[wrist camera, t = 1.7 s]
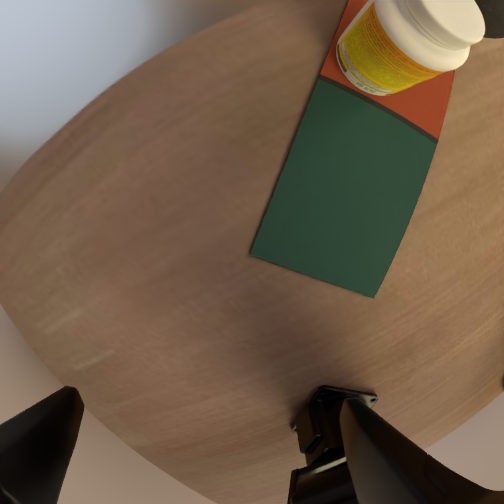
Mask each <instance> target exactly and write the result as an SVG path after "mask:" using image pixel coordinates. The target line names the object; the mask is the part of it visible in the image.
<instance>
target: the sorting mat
mask: <svg viewBox="0 0 504 504" xmlns="http://www.w3.org/2000/svg"><path fill="white" fill-rule="evenodd" d="M367 1H368V0H349V1H348V4H347V6H346V9H345V11H344V14H343V16H342V19H341V22H340V24H339V27H338V29H337V32H336V34H335V37H334V39H333V42H332V45H331V47H330V50H329V52H328V55H327V57H326V60H325V62H324V65H323V68H322V70H321V73H320V75H319V78H318V80H317V83H316V85H315V88H314V91H313V93H312V96H311V98H310V101H309V103H308V106H307V109H306V111H305V114H304V116H303V119H302V121H301V124H300V126H299V129H298V132H297V134H296V137H295V139H294V142H293V144H292V147H291V150H290V152H289V155H288V157H287V160H286V162H285V165H284V168H283V170H282V173H281V175H280V178H279V180H278V183H277V185H276V188H275V191H274V193H273V196H272V198H271V201H270V203H269V206H268V209H267V211H266V214H265V216H264V219H263V221H262V224H261V227H260V229H259V232H258V234H257V237H256V239H255V242H254V245H253V247H252V250H251V252H250V255H252V256H255V257H258V258H261V259H263V260H266V261H269V262H272V263H275V264H277V265H280V266H283V267H286V268H289V269H292V270H294V271H297V272H300V273H303V274H306V275H308V276H311V277H314V278H317V279H320V280H323V281H325V282H328V283H331V284H334V285H337V286H340V287H342V288H345V289H348V290H351V291H354V292H357V293H359V294H362V295H365V296H368V297H371V298H374V297H375V295H376V293H377V291H378V289H379V287H380V285H381V283H382V281H383V279H384V277H385V275H386V273H387V271H388V269H389V267H390V265H391V263H392V260H393V258H394V256H395V254H396V252H397V249H398V247H399V245H400V243H401V240H402V238H403V236H404V233H405V231H406V229H407V226H408V224H409V221H410V219H411V216H412V214H413V211H414V209H415V206H416V204H417V201H418V198H419V196H420V193H421V190H422V188H423V185H424V182H425V179H426V176H427V173H428V170H429V167H430V164H431V161H432V158H433V155H434V152H435V149H436V145H437V142H438V139H439V135H440V132H441V128H442V124H443V121H444V117H445V113H446V109H447V105H448V101H449V97H450V92H451V88H452V83H453V78H454V73H455V69H454V70H452V71H450V72H447V73H444V74H441V75H439V76H436V77H433V78H431V79H428V80H426V81H423V82H421V83H419V84H416V85H414V86H411V87H409V88H407V89H404V90H402V91H400V92H397V93H395V94H392V95H386V96H379V95H373V94H370V93H367V92H365V91H363V90H361V89H359V88H358V87H356V86H355V85H354V84H352V83H351V82H350V81H349V80H348V79H347V77H346V76H345V75H344V73H343V72H342V70H341V68H340V66H339V64H338V60H337V55H336V48H337V43H338V40H339V38H340V37H341V35H342V34H343V32H344V31H345V30H346V28H347V27H348V26H349V24H350V23H351V22H352V20H353V19H354V18H355V17H356V15H357V14H358V13H359V12H360V10H361V9H362V8H363V6H364V5H365V4H366V3H367Z"/></svg>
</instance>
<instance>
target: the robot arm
mask: <svg viewBox="0 0 504 504" xmlns="http://www.w3.org/2000/svg"><path fill="white" fill-rule="evenodd" d="M323 390H325V391H323ZM377 400H378V397H377V395H376V394H373V393H366V392H360V391H354V390H349V389H343V388H338V387H333V386H328V385H322V386H320V387H319V388H318V390H317V391H316V393H315V394H314V395H313V397H312V398H311V400H310V401H309V403H307V404H306V405H305V407H304V408H303V410H302V411H301V413H300V414H299V415H298V417H297V418H296V420H295V423H294V424H293V425H292V427H291V429H292V432H293V433H297V435H298V442H299V448H300V452H301V453H303V454H305V457H306V463H307V466H306V467H303V468H301V469H295V470H293V471H292V473H291V480H290V488H289V495H288V502H287V504H504V491H493V490H489V489H486V488H483V487H481V486H479V485H478V484H476V483H474V482H472V481H470V480H468V479H466V478H464V477H462V476H461V475H459V474H457V473H455V472H454V471H452V470H450V469H449V468H447V467H446V466H444V465H443V464H441V463H440V462H438V461H437V460H435V459H434V458H433V457H432V456H430V455H429V454H428V455H427V453H426V452H425V451H424V450H422V449H421V448H420V447H418V446H417V445H416V444H415V443H413V442H412V441H411V440H409V439H408V438H407V437H406V436H404V435H403V434H402V433H400V432H399V431H398V430H397V429H395V428H394V427H393V426H392V425H390V424H389V423H388V422H387V421H385V420H384V419H383V418H382V417H380V416H379V415H378V414H377V413H375V412H374V411H373V410H372V409H371V408H372V407H373V405H374V404H375V403H376V402H377ZM83 412H84V403H83V401H82V399H81V396H80V394H79V392H78V390H77V389H76V388H75V387H70V386H65V387H63V388H61V389H60V390H58V391H56V392H55V393H53V394H51V395H50V396H48V397H47V398H45V399H43V400H41V401H40V402H38V403H36V404H35V405H33V406H32V407H30V408H28V409H26V410H25V411H23V412H21V413H19V414H18V415H16V416H15V417H13V418H11V419H9V420H8V421H6V422H4V423H2V424H1V425H0V504H57V501H58V498H59V494H60V491H61V487H62V484H63V481H64V478H65V474H66V471H67V468H68V465H69V462H70V459H71V456H72V453H73V450H74V447H75V444H76V441H77V437H78V432H79V428H80V424H81V420H82V416H83Z"/></svg>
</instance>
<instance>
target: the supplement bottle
mask: <svg viewBox="0 0 504 504" xmlns="http://www.w3.org/2000/svg"><path fill="white" fill-rule="evenodd" d="M484 34H485V23H484V19H483V16H482V13H481V11H480V9H479V7H478V6H477V4H476V2H475V1H474V0H368V1H367V3H366V4H365V5H364V6H363V8H362V9H361V10H360V12H359V13H358V14H357V15H356V17H355V18H354V19H353V20H352V22H351V23H350V24H349V26H348V27H347V28H346V30H345V31H344V32H343V34H342V35H341V37H340V38H339V40H338V43H337V48H336V55H337V60H338V64H339V66H340V68H341V70H342V72H343V73H344V75H345V76H346V77H347V79H348V80H349V81H350V82H351V83H352V84H354V85H355V86H356V87H358V88H359V89H361V90H363V91H365V92H367V93H370V94H373V95H379V96H386V95H392V94H395V93H397V92H400V91H402V90H404V89H407V88H409V87H411V86H414V85H416V84H419V83H421V82H423V81H426V80H428V79H431V78H433V77H436V76H439V75H441V74H444V73H447V72H450V71H452V70H454V69H456V68H458V67H460V66H461V65H462V64H464V62H465V61H466V59H467V58H468V55H469V51H470V46H471V45H472V44H475V43H477V42H479V41H480V40H481V39H482V38H483V36H484Z"/></svg>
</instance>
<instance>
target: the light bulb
mask: <svg viewBox="0 0 504 504" xmlns="http://www.w3.org/2000/svg"><path fill="white" fill-rule="evenodd" d="M474 1H475V2H476V4H477V6H478V7H479V9H480V11H481V13H482V16H483V19H484V23H485V34H484V36H483V37H485V38H503V37H504V0H474Z"/></svg>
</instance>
